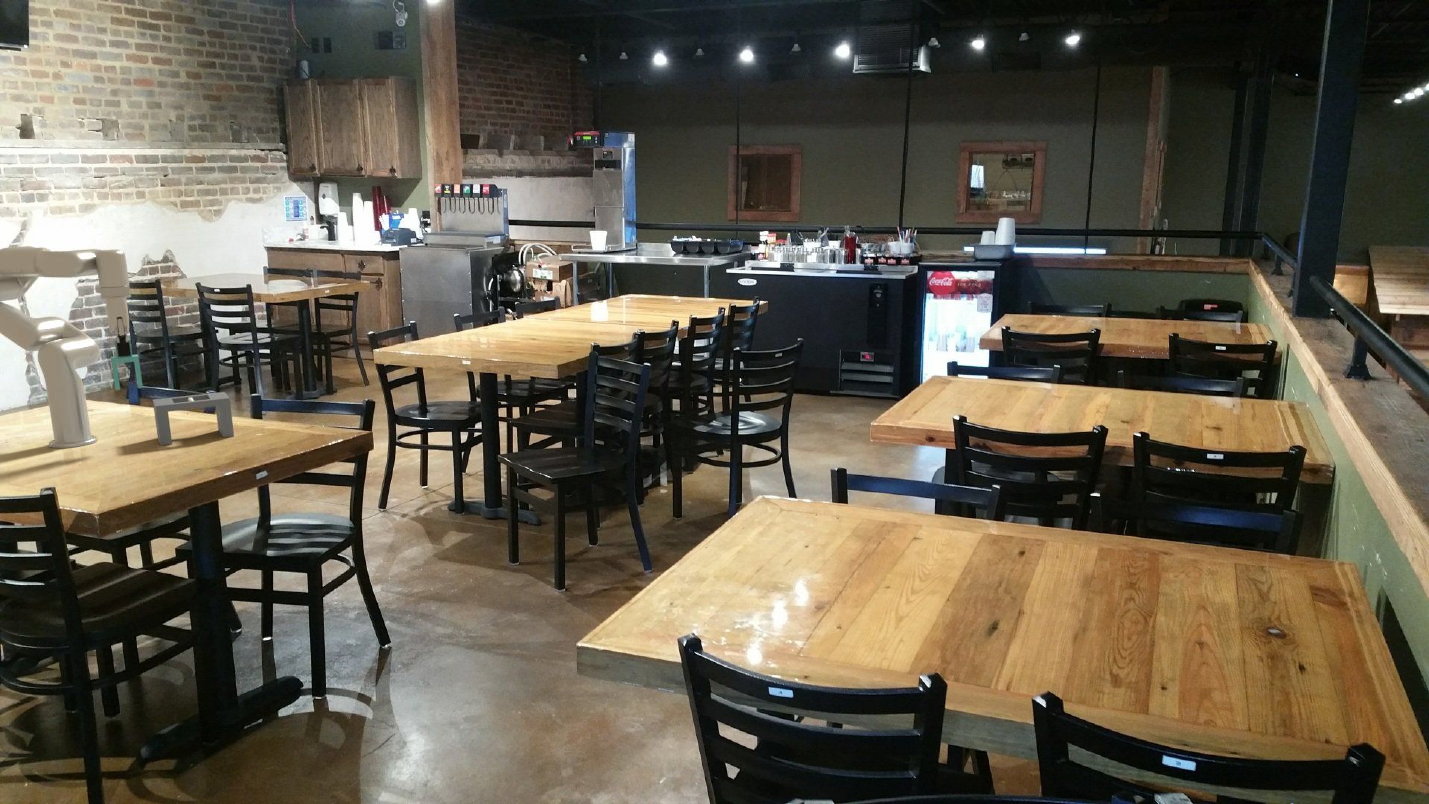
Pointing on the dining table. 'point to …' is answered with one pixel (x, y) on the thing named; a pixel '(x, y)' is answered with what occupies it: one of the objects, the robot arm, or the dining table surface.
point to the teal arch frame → (121, 360)
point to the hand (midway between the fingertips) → (124, 354)
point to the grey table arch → (191, 403)
